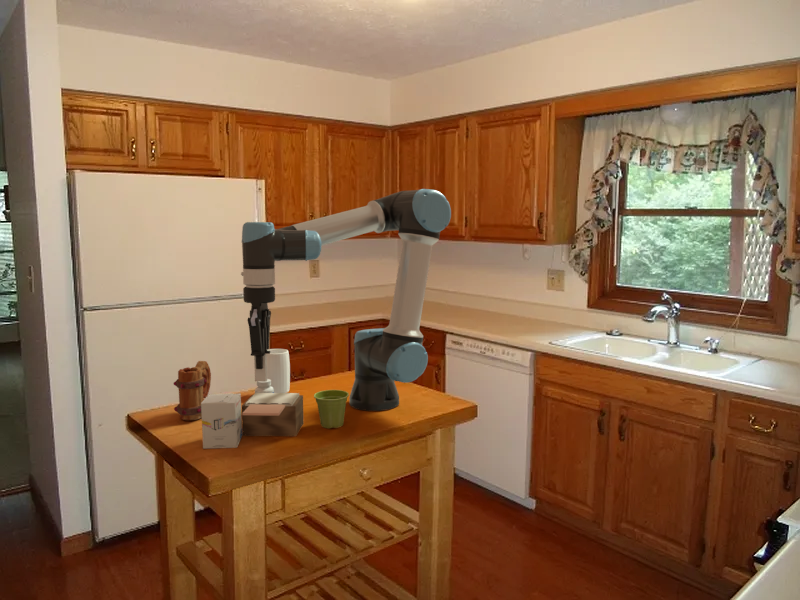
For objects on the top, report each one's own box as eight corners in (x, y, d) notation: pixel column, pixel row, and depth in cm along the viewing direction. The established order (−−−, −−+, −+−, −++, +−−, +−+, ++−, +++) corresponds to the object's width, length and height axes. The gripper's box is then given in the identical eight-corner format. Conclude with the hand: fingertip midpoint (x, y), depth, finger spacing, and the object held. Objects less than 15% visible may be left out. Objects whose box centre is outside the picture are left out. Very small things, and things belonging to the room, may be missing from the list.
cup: (287, 398, 193) (286, 354, 192) (261, 398, 193) (259, 354, 192) (292, 390, 202) (291, 348, 200) (267, 390, 202) (265, 348, 200)
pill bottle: (264, 409, 182) (263, 377, 181) (278, 411, 180) (277, 379, 179) (251, 414, 178) (250, 381, 176) (265, 417, 175) (264, 383, 174)
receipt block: (303, 423, 169) (302, 392, 168) (296, 436, 159) (295, 403, 158) (253, 423, 170) (252, 392, 169) (242, 435, 160) (241, 403, 159)
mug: (196, 424, 169) (194, 371, 167) (169, 422, 170) (166, 369, 168) (222, 408, 183) (220, 359, 181) (197, 407, 184) (194, 358, 182)
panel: (285, 407, 158) (285, 404, 158) (278, 415, 151) (278, 413, 151) (250, 406, 158) (250, 404, 158) (242, 415, 151) (242, 412, 151)
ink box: (209, 437, 159) (207, 393, 158) (243, 436, 160) (241, 392, 158) (201, 449, 151) (199, 402, 149) (237, 448, 151) (235, 402, 150)
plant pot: (335, 433, 162) (334, 401, 160) (307, 427, 167) (306, 395, 165) (356, 423, 169) (355, 392, 168) (329, 417, 174) (328, 387, 173)
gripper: (251, 283, 156) (253, 374, 159) (235, 288, 143) (238, 387, 146) (280, 283, 156) (282, 374, 159) (267, 288, 143) (269, 388, 146)
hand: (261, 380), depth 152 cm, fingers closed
